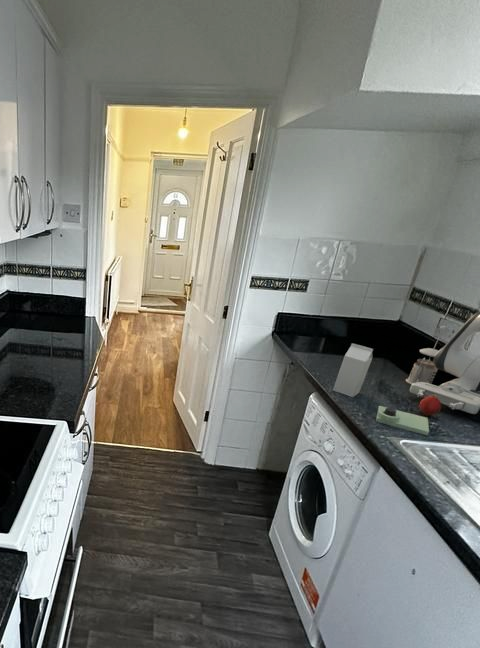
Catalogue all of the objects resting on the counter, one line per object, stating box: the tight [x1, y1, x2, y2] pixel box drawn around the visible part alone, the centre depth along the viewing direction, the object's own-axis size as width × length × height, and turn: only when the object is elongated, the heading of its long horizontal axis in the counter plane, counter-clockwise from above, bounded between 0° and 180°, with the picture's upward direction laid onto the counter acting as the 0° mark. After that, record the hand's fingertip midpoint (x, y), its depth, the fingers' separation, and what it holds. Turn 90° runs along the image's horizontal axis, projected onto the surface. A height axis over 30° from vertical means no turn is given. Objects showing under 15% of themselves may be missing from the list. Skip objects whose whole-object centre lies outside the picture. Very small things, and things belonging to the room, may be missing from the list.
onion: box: [419, 395, 442, 417], centre depth 142 cm, size 6×6×8 cm
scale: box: [375, 405, 430, 436], centre depth 137 cm, size 14×12×3 cm
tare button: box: [384, 407, 397, 416], centre depth 136 cm, size 3×3×2 cm
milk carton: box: [332, 343, 374, 398], centre depth 153 cm, size 7×7×19 cm
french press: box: [405, 325, 447, 385], centre depth 164 cm, size 10×12×25 cm
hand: (435, 401), depth 143 cm, fingers open, 8 cm apart
